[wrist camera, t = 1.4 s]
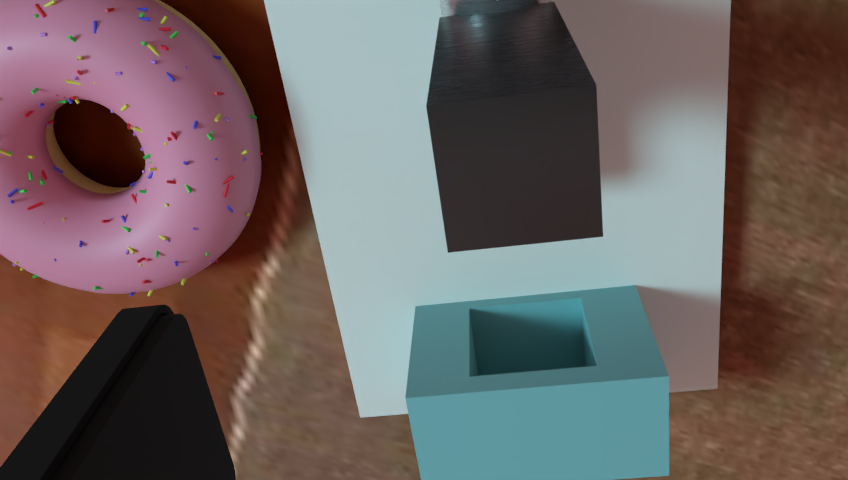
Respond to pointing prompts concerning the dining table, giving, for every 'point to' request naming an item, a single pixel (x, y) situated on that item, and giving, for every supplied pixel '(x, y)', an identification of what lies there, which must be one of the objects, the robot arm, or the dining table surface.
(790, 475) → the dining table surface
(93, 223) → the doughnut
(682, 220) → the base board
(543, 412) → the socket
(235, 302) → the dining table surface
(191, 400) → the robot arm
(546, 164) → the silver bolt with handle
